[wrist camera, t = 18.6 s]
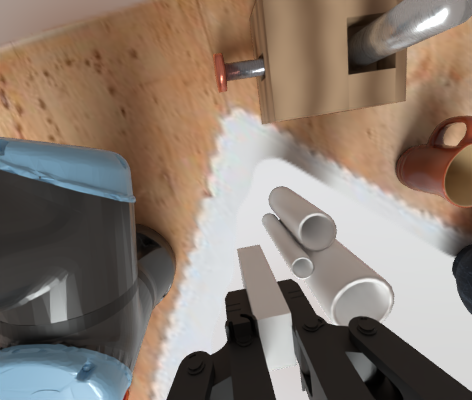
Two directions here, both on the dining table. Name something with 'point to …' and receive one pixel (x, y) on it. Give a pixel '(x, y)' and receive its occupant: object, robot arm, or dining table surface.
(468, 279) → the bowl
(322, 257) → the vase
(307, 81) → the dock
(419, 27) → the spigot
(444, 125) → the mug
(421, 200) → the dining table surface
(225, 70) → the lock pin
